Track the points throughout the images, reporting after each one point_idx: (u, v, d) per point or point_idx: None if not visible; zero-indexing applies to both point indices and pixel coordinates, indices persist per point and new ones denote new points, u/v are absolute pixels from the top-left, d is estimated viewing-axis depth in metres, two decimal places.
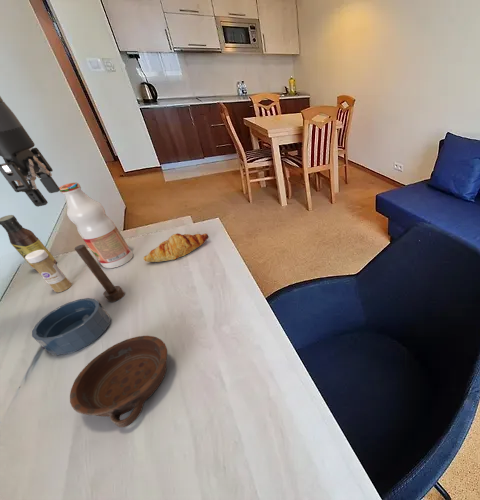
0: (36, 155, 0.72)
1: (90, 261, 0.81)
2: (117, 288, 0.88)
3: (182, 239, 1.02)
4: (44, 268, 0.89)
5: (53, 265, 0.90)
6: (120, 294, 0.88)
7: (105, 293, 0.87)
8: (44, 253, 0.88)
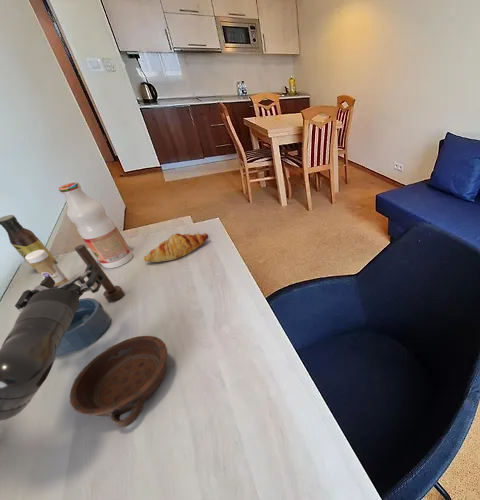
0: None
1: (90, 261, 0.81)
2: (117, 288, 0.88)
3: (182, 239, 1.02)
4: (44, 268, 0.89)
5: (53, 265, 0.90)
6: (120, 294, 0.88)
7: (105, 293, 0.87)
8: (44, 253, 0.88)
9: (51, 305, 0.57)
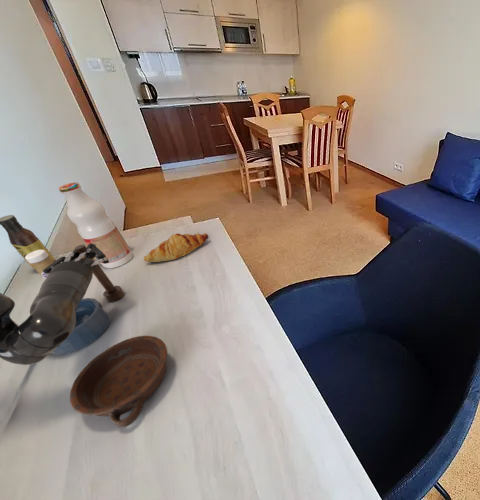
0: None
1: None
2: (117, 288, 0.88)
3: (182, 239, 1.02)
4: (44, 268, 0.89)
5: None
6: (120, 294, 0.88)
7: (105, 293, 0.87)
8: (44, 253, 0.88)
9: (70, 275, 0.67)
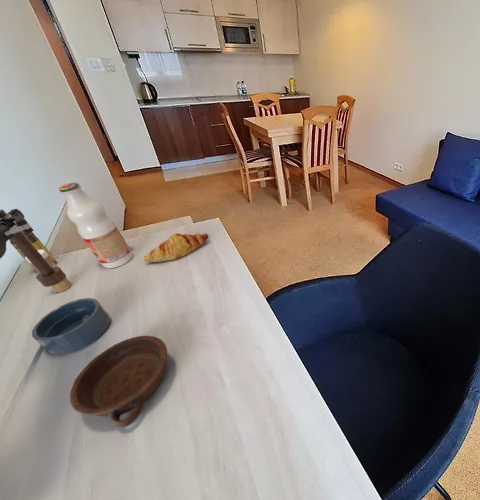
0: (20, 230, 0.58)
1: None
2: (55, 269, 0.70)
3: (182, 239, 1.02)
4: None
5: (53, 265, 0.90)
6: (59, 277, 0.69)
7: (39, 275, 0.68)
8: (44, 253, 0.88)
9: None
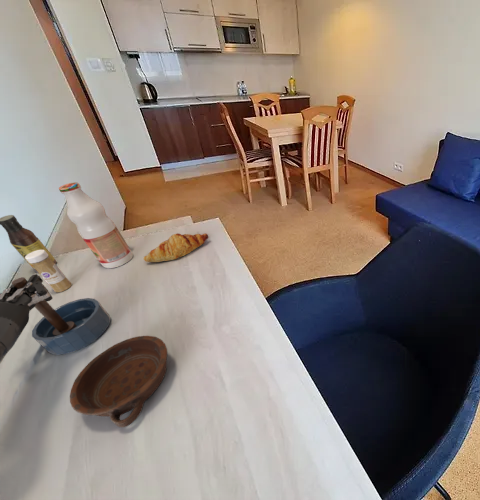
0: None
1: None
2: (70, 324, 0.76)
3: (182, 239, 1.02)
4: (44, 268, 0.89)
5: (53, 265, 0.90)
6: None
7: (55, 331, 0.74)
8: (44, 253, 0.88)
9: None
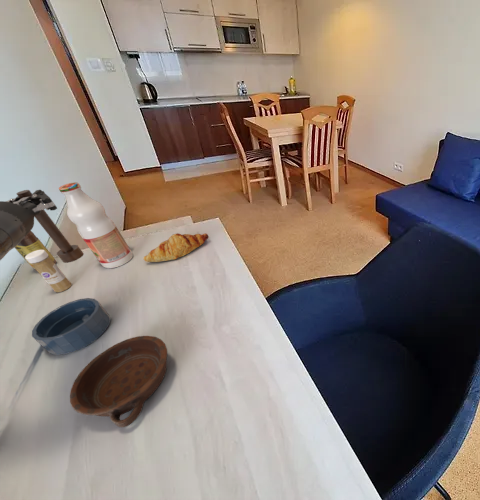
0: (45, 208, 0.64)
1: None
2: (74, 247, 0.76)
3: (182, 239, 1.02)
4: (44, 268, 0.89)
5: (53, 265, 0.90)
6: (77, 254, 0.75)
7: (59, 252, 0.74)
8: (44, 253, 0.88)
9: None
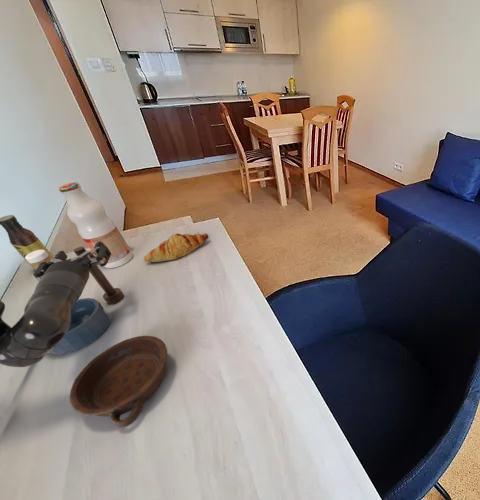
0: None
1: None
2: (117, 290, 0.88)
3: (182, 239, 1.02)
4: None
5: None
6: (120, 296, 0.87)
7: (104, 295, 0.86)
8: (44, 253, 0.88)
9: (66, 274, 0.66)
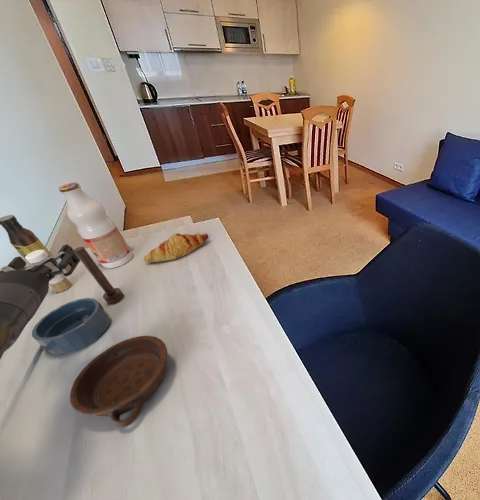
0: None
1: (89, 263, 0.80)
2: (117, 290, 0.88)
3: (182, 239, 1.02)
4: None
5: None
6: (120, 296, 0.87)
7: (104, 295, 0.86)
8: (44, 253, 0.88)
9: (13, 288, 0.51)
